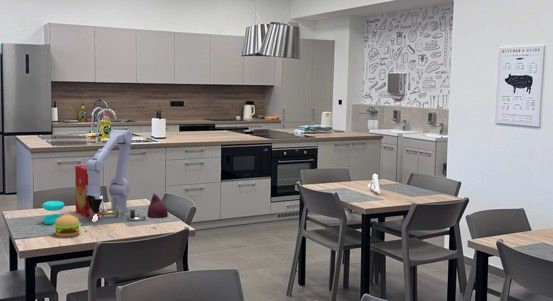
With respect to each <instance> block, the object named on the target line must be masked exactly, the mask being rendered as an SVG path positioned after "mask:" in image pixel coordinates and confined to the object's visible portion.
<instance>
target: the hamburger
mask: <svg viewBox="0 0 553 301" xmlns="http://www.w3.org/2000/svg"><path fill="white" fill-rule="evenodd" d="M80 225H81V223H79V220H78V217H76V216H74V215H71V214H65V215H62V216H61V217H59V218H58V219H57V220H56V222H55V224H53V225H52V227H54V229H55V233H54V234H55V236H57V237H61V238H71V237H76V236H78V234H79V233H80V227H81V226H80Z"/></svg>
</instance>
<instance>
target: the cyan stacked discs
mask: <svg viewBox="0 0 553 301" xmlns="http://www.w3.org/2000/svg"><path fill="white" fill-rule="evenodd" d="M41 207H42V208H43V209H44V210H45V211H50V212H56V211H60V210H63V209H64V207H65V203H64V202H63V201H59V200H49V201H46V202H44V203H43V204H42V205H41ZM61 216H63V215H62V214H56V213H55V214H47V215H46V216H44V217H43V218H42V222H43V224H45V225H50V224H52V226H53V224H55V222H56V220H57V219H58V218H59V217H61Z"/></svg>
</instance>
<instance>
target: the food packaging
mask: <svg viewBox="0 0 553 301" xmlns="http://www.w3.org/2000/svg"><path fill="white" fill-rule="evenodd" d="M85 166H86V165H75V166H74V167H75V168H74V169H75V173H74V174H75V184H74V185H75V212H76V213H77V214H79V215H80V216H83V218H90V205H89V201H88V199H87V197H86V196H90V195H86V193H88V174H87V170H86V167H85Z"/></svg>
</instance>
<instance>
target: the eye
mask: <svg viewBox="0 0 553 301" xmlns="http://www.w3.org/2000/svg"><path fill="white" fill-rule="evenodd" d="M117 210H118V214H114V216H115V217H116V218H117V219H119V218H123V216H122V207H121V206H119V205H117V206H116V211H117Z"/></svg>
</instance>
